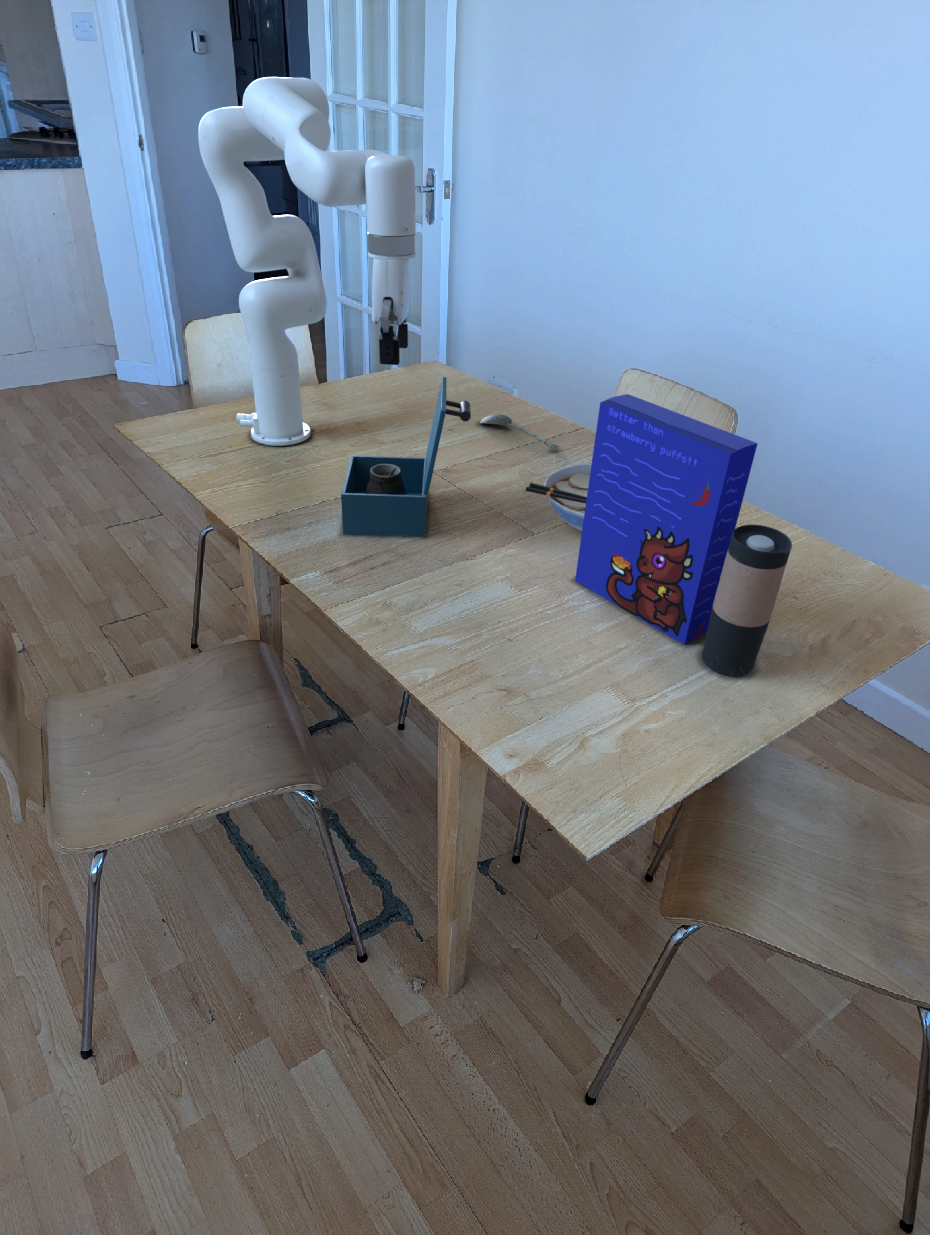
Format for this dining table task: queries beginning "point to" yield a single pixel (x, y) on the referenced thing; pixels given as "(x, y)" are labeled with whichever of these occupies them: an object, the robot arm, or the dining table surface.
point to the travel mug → (745, 598)
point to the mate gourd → (385, 480)
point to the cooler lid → (437, 429)
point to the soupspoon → (507, 421)
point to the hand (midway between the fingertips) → (394, 355)
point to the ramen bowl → (567, 492)
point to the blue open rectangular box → (384, 499)
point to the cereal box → (661, 513)
